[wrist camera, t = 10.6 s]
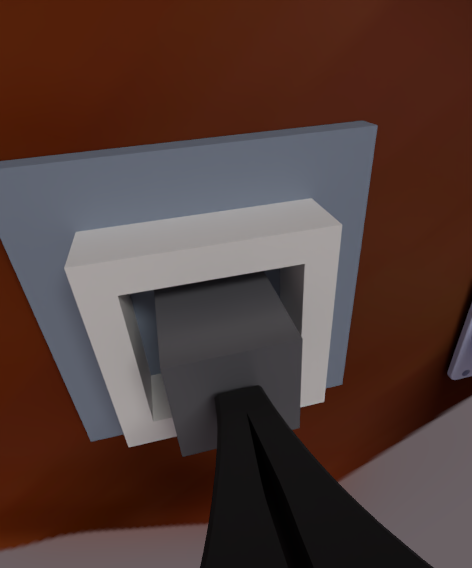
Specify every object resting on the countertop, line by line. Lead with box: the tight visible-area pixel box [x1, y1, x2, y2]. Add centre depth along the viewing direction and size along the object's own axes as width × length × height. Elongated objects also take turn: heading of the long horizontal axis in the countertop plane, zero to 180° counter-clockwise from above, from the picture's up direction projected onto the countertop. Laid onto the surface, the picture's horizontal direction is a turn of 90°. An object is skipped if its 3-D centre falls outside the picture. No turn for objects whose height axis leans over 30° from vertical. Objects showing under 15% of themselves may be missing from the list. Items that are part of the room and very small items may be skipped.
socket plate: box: [0, 121, 378, 447], centre depth 15 cm, size 13×13×4 cm
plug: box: [154, 271, 303, 457], centre depth 13 cm, size 4×4×5 cm
